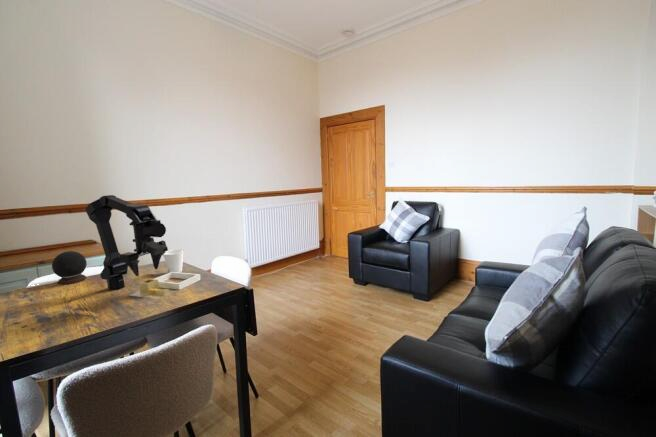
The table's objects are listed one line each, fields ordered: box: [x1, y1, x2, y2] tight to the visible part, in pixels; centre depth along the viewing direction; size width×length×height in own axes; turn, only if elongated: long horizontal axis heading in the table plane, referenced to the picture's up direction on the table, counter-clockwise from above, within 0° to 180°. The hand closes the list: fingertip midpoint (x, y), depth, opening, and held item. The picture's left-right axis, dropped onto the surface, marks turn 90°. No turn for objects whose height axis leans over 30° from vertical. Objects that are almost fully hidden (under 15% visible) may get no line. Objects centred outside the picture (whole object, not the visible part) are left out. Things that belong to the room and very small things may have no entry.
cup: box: [162, 249, 184, 273], centre depth 162 cm, size 10×10×11 cm
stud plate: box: [129, 288, 175, 300], centre depth 132 cm, size 16×9×4 cm, turn 71°
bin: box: [154, 272, 201, 290], centre depth 144 cm, size 17×13×4 cm
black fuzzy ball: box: [51, 250, 88, 286], centre depth 154 cm, size 13×13×15 cm
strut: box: [138, 278, 170, 297], centre depth 131 cm, size 12×5×5 cm, turn 71°
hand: (147, 272), depth 132 cm, fingers open, 9 cm apart
